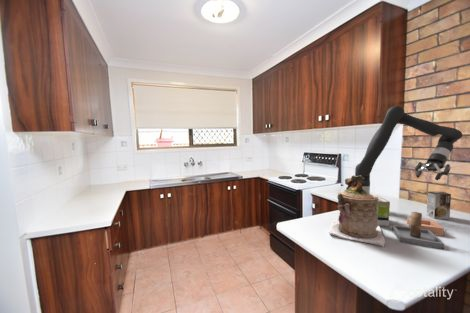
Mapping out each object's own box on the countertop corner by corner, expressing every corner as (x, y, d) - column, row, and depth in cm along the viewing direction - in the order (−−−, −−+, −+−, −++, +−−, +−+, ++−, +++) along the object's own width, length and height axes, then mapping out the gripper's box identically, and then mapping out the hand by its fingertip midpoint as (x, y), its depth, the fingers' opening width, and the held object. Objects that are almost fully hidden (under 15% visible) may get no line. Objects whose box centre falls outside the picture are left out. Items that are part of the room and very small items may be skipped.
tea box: (389, 226, 119) (390, 201, 117) (370, 225, 121) (371, 200, 119) (377, 217, 133) (378, 194, 132) (360, 216, 135) (360, 194, 134)
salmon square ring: (413, 231, 112) (414, 224, 111) (406, 223, 122) (407, 217, 122) (443, 235, 106) (444, 228, 106) (433, 227, 117) (433, 220, 117)
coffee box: (440, 215, 135) (442, 191, 134) (450, 219, 128) (451, 193, 127) (425, 215, 136) (427, 191, 135) (434, 218, 129) (435, 193, 128)
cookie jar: (380, 228, 116) (383, 172, 114) (386, 248, 95) (389, 180, 92) (332, 220, 128) (333, 169, 126) (328, 236, 107) (329, 176, 105)
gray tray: (400, 242, 101) (400, 237, 100) (391, 229, 115) (392, 224, 115) (443, 249, 94) (444, 243, 93) (429, 234, 108) (429, 230, 108)
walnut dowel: (411, 237, 103) (412, 213, 102) (408, 233, 107) (410, 211, 106) (421, 238, 102) (423, 215, 101) (418, 235, 105) (420, 212, 104)
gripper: (421, 152, 125) (409, 171, 121) (453, 153, 112) (441, 175, 108) (425, 160, 127) (413, 180, 124) (457, 162, 114) (445, 184, 111)
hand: (426, 178), depth 116 cm, fingers open, 8 cm apart
